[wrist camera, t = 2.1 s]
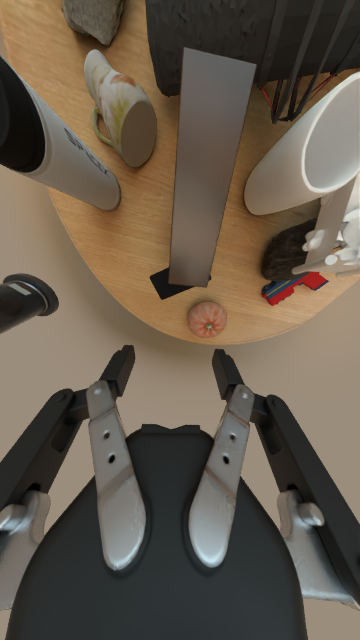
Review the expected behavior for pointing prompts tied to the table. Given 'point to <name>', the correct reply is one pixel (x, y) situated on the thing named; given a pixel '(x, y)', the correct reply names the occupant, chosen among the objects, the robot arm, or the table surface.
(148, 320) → the table surface
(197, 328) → the tomato
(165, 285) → the smartphone
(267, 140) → the table surface
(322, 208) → the white plastic housing
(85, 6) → the stone
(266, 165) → the cup
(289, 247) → the rock
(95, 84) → the mug
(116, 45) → the table surface
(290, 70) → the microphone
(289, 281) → the toy gun
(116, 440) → the robot arm
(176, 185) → the window frame
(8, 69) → the travel mug
